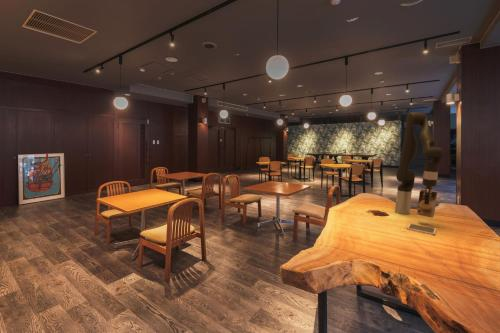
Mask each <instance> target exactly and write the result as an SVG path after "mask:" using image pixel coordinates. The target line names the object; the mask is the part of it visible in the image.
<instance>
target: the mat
mask: <svg viewBox="0 0 500 333" xmlns="http://www.w3.org/2000/svg"><path fill="white" fill-rule="evenodd" d="M406 230H407V231H412V232H415V233H416V232H417V233H421V234H426V235H430V236H435V235H436V233H437V232H436V231H437V228H436V227H428V226H423V225H419V224H418V225H417V224H414V223H411V222H410V223H409V224H408V225H407V226H406Z"/></svg>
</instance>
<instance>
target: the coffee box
mask: <svg viewBox="0 0 500 333" xmlns="http://www.w3.org/2000/svg"><path fill="white" fill-rule="evenodd" d="M424 193H425V189H421V190H420V191H419V195H418V203H417V210H416V215H418V216H422V217H427V218H432V219H433V218H434V217H435V211H436V205H437V197H438V192H437V191H432V192H431V193H430V194H431V195H430V199H429V204H428V205H427V204H424V202H425V198H424V197H425V194H424ZM426 196H429V195H426Z"/></svg>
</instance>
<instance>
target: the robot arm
mask: <svg viewBox="0 0 500 333" xmlns="http://www.w3.org/2000/svg"><path fill="white" fill-rule="evenodd" d="M405 121H406V122H405V132H404V140H403V144H402V149H401V155H400V159H399V164H398V168H397V170H396V175H395V178H396V180H397V181H398V182H399V183H401V184H399V185H398V186H397V189H396V190H397V191H396V200H395V207H394V208H395V209H394V212H395V213H397V214H401V215H410V213H411V204H412V203H411V202H412V193H413V192H412V191H413V188H414V185H415V179H416V175H415V172H414V171H413V170H412V169H409V167H410V164H411V162H412V161H413V159H414V158H415V156H416V155H417V153H418V147H419V142H418V140H417V138H416V135H415V132H414V126H418V127H420V128H421V131H420V133H419V141H420V143H421V144H422V145H421V146H422V155H423V157H424V158H426V159H432V160H430V161H426V162H425V164H424V171H423V175H422V183H421V184H422V185H423V186H426V187H424V190H425V193H424V194H425V197H424V198H425V202H424V204H427V205H428V204H429V199H430V195H431V194H430V193H431V192H433V190H434V189H433V188H434V187H436V186H437V184H438V176H439V175H438V174H439V165H440V164H441V162H442V159H443V157H444V150H443V148H442V147H435V145H436V140H435V138H434V137H433V135H432V132H431V127H430V123H429V120H428V116H427V114H426V113H425V112H415V111H413V112H412V111H411V112H409V113H408V114H407V116H406V120H405ZM426 195H429V196H426Z"/></svg>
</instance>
